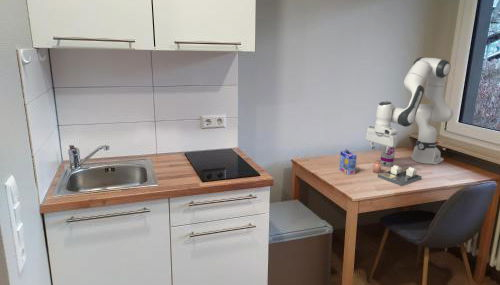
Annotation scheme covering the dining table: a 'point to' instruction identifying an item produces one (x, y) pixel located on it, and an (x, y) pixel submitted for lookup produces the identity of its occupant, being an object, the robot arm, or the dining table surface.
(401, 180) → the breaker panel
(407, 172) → the toggle
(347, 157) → the ink cartridge box
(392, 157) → the supplement can
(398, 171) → the toggle
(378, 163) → the cap
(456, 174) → the dining table surface
